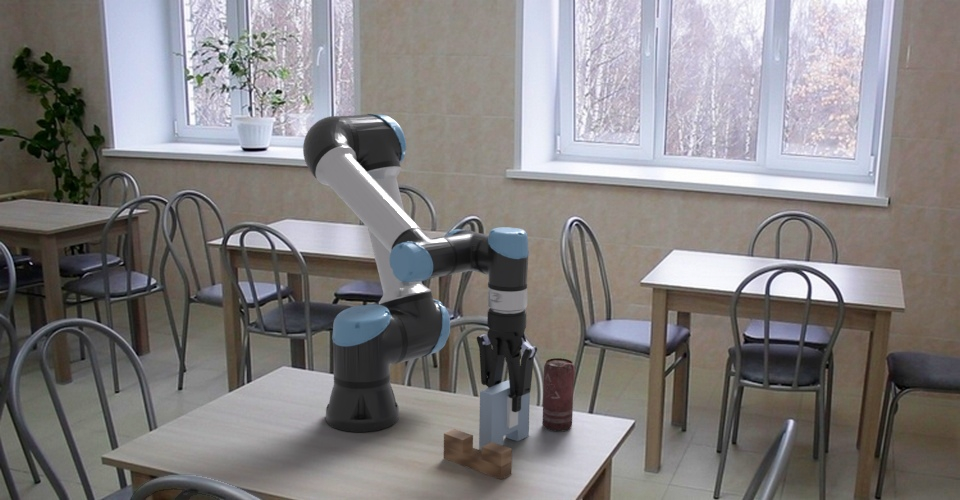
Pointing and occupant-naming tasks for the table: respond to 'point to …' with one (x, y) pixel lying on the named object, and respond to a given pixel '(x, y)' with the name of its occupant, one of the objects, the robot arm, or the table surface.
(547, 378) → the can
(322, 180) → the robot arm
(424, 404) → the table surface
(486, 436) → the pale blue upright slab
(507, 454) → the walnut u-shaped block
